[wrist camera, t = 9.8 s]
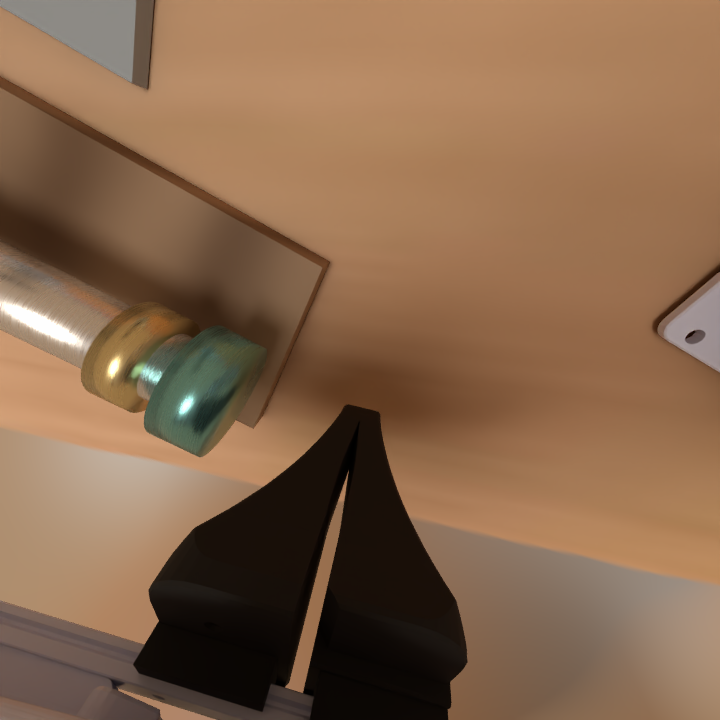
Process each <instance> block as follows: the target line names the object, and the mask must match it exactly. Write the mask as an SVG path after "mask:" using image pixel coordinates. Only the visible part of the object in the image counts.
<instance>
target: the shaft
mask: <svg viewBox="0 0 720 720" xmlns="http://www.w3.org/2000/svg"><path fill="white" fill-rule="evenodd" d="M0 330H2V331H4V332H6V333H8V334H10V335H12V336H14V337H17V338H19V339H21V340H23V341H25V342H27V343H29V344H31V345H33V346H35V347H37V348H39V349H41V350H43V351H46V352H48V353H50V354H52V355H54V356H56V357H58V358H60V359H62V360H64V361H66V362H68V363H70V364H72V365H75V366H77V367H79V368H81V380H82V384H83V386H84V388H85V389H86V390H87V391H88V392H89V393H91V394H93V395H95V396H97V397H100V398H102V399H104V400H106V401H108V402H110V403H112V404H114V405H116V406H118V407H121V408H123V409H125V410H127V411H129V412H132V413H137V412H142V411H144V410H146V411H145V416H144V427H145V429H146V431H147V432H148V433H149V434H151V435H153V436H156V437H158V438H160V439H162V440H164V441H166V442H168V443H170V444H172V445H175V446H177V447H179V448H181V449H183V450H185V451H187V452H189V453H192V454H194V455H196V456H198V457H203V456H204V455H206V454H207V453H209V452H210V451H211V450H212V449H213V448H214V447H215V446H216V445H217V444H218V442H219V441H220V440H221V439H222V438H223V436H224V435H225V434H226V433H227V431H228V430H229V429H230V427H231V426H232V424H233V423H234V422H235V420H236V419H237V417H238V416H239V414H240V412H241V411H242V409H243V408H244V406H245V404H246V403H247V401H248V399H249V397H250V396H251V394H252V392H253V390H254V388H255V386H256V384H257V382H258V380H259V378H260V376H261V373H262V371H263V368H264V366H265V362H266V359H267V349H266V348H264V347H262V346H260V345H258V344H256V343H254V342H252V341H250V340H248V339H247V338H245V337H243V336H241V335H239V334H237V333H235V332H233V331H231V330H229V329H227V328H225V327H223V326H221V325H215V326H212V327H209V328H207V329H205V330H204V331H202V332H201V333H200V328H199V326H198V324H197V323H196V322H194V321H192V320H191V319H189V318H187V317H185V316H183V315H181V314H179V313H177V312H175V311H173V310H171V309H169V308H167V307H165V306H163V305H162V304H159V303H157V302H145V303H140V304H137V305H135V306H130V305H128V304H126V303H124V302H122V301H120V300H118V299H116V298H114V297H112V296H110V295H108V294H106V293H105V292H103V291H101V290H99V289H97V288H95V287H93V286H91V285H89V284H87V283H85V282H83V281H81V280H79V279H77V278H75V277H73V276H71V275H69V274H67V273H65V272H63V271H61V270H60V269H58V268H56V267H54V266H52V265H50V264H48V263H46V262H44V261H42V260H40V259H38V258H36V257H34V256H32V255H30V254H28V253H26V252H24V251H22V250H20V249H18V248H16V247H15V246H13V245H11V244H9V243H7V242H5V241H3V240H1V239H0Z"/></svg>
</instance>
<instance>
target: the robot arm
mask: <svg viewBox="0 0 720 720" xmlns="http://www.w3.org/2000/svg"><path fill="white" fill-rule="evenodd" d="M657 330H658V334H659V335H660V336H661V337H662V338H664V339H665V340H667V341H668V342H670V343H672V344H673V345H675V346H677V347H678V348H680V349H682V350H683V351H685V352H687V353H688V354H690V355H692V356H693V357H695V358H697V359H698V360H700V361H701V362H703V363H705V364H706V365H708V366H710V367H711V368H713V369H715V370H716V371H718V372H720V272H719V273H717V274H716V275H715V276H714V277H713V278H711V279H710V280H709V281H708V282H707V283H706V284H704V285H703V286H702V287H701V288H700V289H698V290H697V291H696V292H695V293H694V294H692V295H691V296H690V297H689V298H688V299H687V300H685V301H684V302H683V303H682V304H681V305H679V306H678V307H677V308H676V309H675V310H674V311H672V312H671V313H670V314H669V315H668V316H666V317H665V318H664V319H663V320H662V321H661V322H660V324H659V326H658V329H657ZM694 330H695V333H694V334H693V335H692V336H691V337H689V338H687V339H685V338H686V336H687V335H688V334H689V333H690V332H692V331H694ZM348 471H349V473H348ZM347 473H348V480H347V487H346V494H345V501H344V508H343V514H342V521H341V528H340V533H339V538H338V543H337V547H336V552H335V556H334V561H333V565H332V569H331V574H330V578H329V582H328V586H327V591H326V595H325V599H324V604H323V608H322V613H321V617H320V621H319V626H318V630H317V635H316V639H315V643H314V647H313V652H312V656H311V661H310V665H309V669H308V674H307V678H306V682H305V687H304V691H303V693H300V692H297V691H294V690H291V689H288V688H285V686H286V685H287V684H288V683H289V681H290V677H291V673H292V669H293V665H294V660H295V657H296V652H297V649H298V645H299V641H300V637H301V633H302V629H303V625H304V621H305V617H306V613H307V610H308V606H309V601H310V598H311V594H312V590H313V585H314V582H315V578H316V574H317V570H318V566H319V562H320V559H321V555H322V551H323V547H324V543H325V539H326V535H327V532H328V529H329V525H330V522H331V519H332V516H333V514H334V510H335V508H336V505H337V502H338V499H339V496H340V494H341V491H342V488H343V485H344V482H345V479H346V476H347ZM149 597H150V602H151V604H152V606H153V608H154V610H155V613H156V615H157V617H158V619H159V622H158V623H157V625H156V627H155V629H154V630H153V632H152V634H151V635H150V637H149V638H148V640H147V642H146V643H145V645H144V644H140V643H137V642H134V641H130V640H127V639H124V638H121V637H117V636H114V635H111V634H108V633H105V632H101V631H98V630H95V629H92V628H88V627H85V626H81V625H78V624H75V623H72V622H69V621H65V620H62V619H59V618H56V617H52V616H49V615H46V614H42V613H39V612H36V611H33V610H29V609H26V608H23V607H19V606H16V605H13V604H10V603H7V602H3V601H0V720H162V718H161V717H160V710H159V709H157V708H155V707H153V706H151V705H148V704H146V703H144V702H142V701H140V700H137V699H135V698H133V697H131V696H128V695H126V694H124V693H122V692H120V691H118V688H119V689H122V690H125V691H128V692H131V693H135V694H138V695H141V696H144V697H147V698H150V699H153V700H157V701H160V702H163V703H166V704H169V705H172V706H176V707H179V708H182V709H185V710H188V711H191V712H195V713H198V714H201V715H204V716H207V717H210V718H213V719H216V720H448V709H449V708H450V707H451V690H450V681H451V680H453V679H454V678H455V677H456V676H457V675H458V674H459V673H460V672H461V671H462V670H463V669H464V667H465V665H466V663H467V649H466V641H465V636H464V631H463V626H462V622H461V617H460V614H459V610H458V606H457V602H456V600H455V598H454V596H453V595H452V593H451V591H450V590H449V588H448V587H447V585H446V584H445V582H444V581H443V579H442V577H441V576H440V574H439V572H438V571H437V569H436V567H435V566H434V564H433V562H432V560H431V559H430V557H429V555H428V553H427V552H426V550H425V548H424V546H423V544H422V542H421V540H420V538H419V536H418V534H417V532H416V530H415V529H414V526H413V524H412V522H411V521H410V518H409V516H408V514H407V512H406V509H405V507H404V505H403V503H402V500H401V498H400V495H399V493H398V490H397V487H396V485H395V482H394V479H393V476H392V473H391V469H390V466H389V463H388V459H387V455H386V451H385V447H384V442H383V437H382V431H381V423H380V413H379V412H377V411H373V410H369V409H365V408H361V407H357V406H352V405H346V406H344V408H343V410H342V411H341V413H340V414H339V416H338V417H337V419H336V420H335V421H334V422H333V424H332V425H331V426H330V427H329V429H328V430H327V431H326V432H325V433H324V434H323V435H322V437H321V438H320V439H319V440H318V441H317V442H316V443H315V444H314V445H313V446H312V447H311V448H310V449H309V450H308V451H307V452H306V453H305V454H304V455H303V456H301V457H300V458H299V459H298V460H297V461H296V462H295V463H294V464H292V465H291V466H290V467H289V468H288V469H286V470H285V471H284V472H283V473H281V474H280V475H279V476H277V477H276V478H275V479H273V480H272V481H271V482H269V483H268V484H267V485H265V486H264V487H262V488H261V489H260V490H258V491H256V492H255V493H253V494H252V495H250V496H249V497H247V498H246V499H244V500H242V501H241V502H239V503H238V504H236V505H235V506H233V507H231V508H230V509H228V510H226V511H224V512H223V513H221V514H219V515H217V516H216V517H213V518H212V519H210V520H208V521H206V522H204V523H202V524H201V525H199V526H197V527H195V528H194V529H193V530H192V531H191V532H190V534H189V535H188V536H187V537H186V538H185V539H184V540H183V542H182V543H181V544H180V545H179V546H178V548H177V549H176V550H175V551H174V552H173V554H172V555H171V557H170V558H169V559H168V561H167V562H166V564H165V565H164V567H163V568H162V570H161V571H160V573H159V574H158V576H157V577H156V579H155V580H154V582H153V583H152V585H151V587H150V588H149Z"/></svg>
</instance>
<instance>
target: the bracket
mask: <svg viewBox="0 0 720 720" xmlns="http://www.w3.org/2000/svg"><path fill="white" fill-rule="evenodd" d="M0 239H1V240H3V241H5V242H7V243H9V244H11V245H13V246H15V247H16V248H18V249H20V250H22V251H24V252H26V253H28V254H30V255H32V256H34V257H36V258H38V259H40V260H42V261H44V262H46V263H48V264H50V265H52V266H54V267H56V268H58V269H60V270H61V271H63V272H65V273H67V274H69V275H71V276H73V277H75V278H77V279H79V280H81V281H83V282H85V283H87V284H89V285H91V286H93V287H95V288H97V289H99V290H101V291H103V292H105V293H106V294H108V295H110V296H112V297H114V298H116V299H118V300H120V301H122V302H124V303H126V304H128V305H130V306H135V305H137V304H140V303H145V302H157V303H159V304H162V305H163V306H165V307H167V308H169V309H171V310H173V311H175V312H177V313H179V314H181V315H183V316H185V317H187V318H189V319H191V320H192V321H194V322H196V323H197V324H198V326H199V328H200V333H201V332H202V331H204V330H205V329H207V328H209V327H212V326H215V325H221V326H223V327H225V328H227V329H229V330H231V331H233V332H235V333H237V334H239V335H241V336H243V337H245V338H247V339H248V340H250V341H252V342H254V343H256V344H258V345H260V346H262V347H264V348H266V349H267V359H266V362H265V366H264V368H263V371H262V373H261V376H260V378H259V380H258V382H257V384H256V386H255V388H254V390H253V392H252V394H251V396H250V397H249V399H248V401H247V403H246V404H245V406H244V408H243V409H242V411H241V412H240V414H239V416H238V417H237V419H236V420H237V421H239V422H241V423H243V424H245V425H247V426H249V427H251V428H253V429H254V427H255V426H256V424H257V423H258V422H259V420H260V419H261V417H262V416H263V414H264V411H265V409H266V407H267V404H268V402H269V400H270V398H271V395H272V393H273V391H274V388H275V386H276V384H277V382H278V379H279V377H280V375H281V372H282V370H283V368H284V366H285V363H286V361H287V359H288V356H289V354H290V352H291V350H292V347H293V345H294V343H295V340H296V338H297V336H298V334H299V331H300V329H301V327H302V324H303V322H304V320H305V318H306V315H307V313H308V311H309V308H310V306H311V304H312V302H313V299H314V297H315V295H316V292H317V290H318V288H319V286H320V283H321V281H322V279H323V277H324V274H325V272H326V270H327V267H328V265H329V263H330V262H329V261H327V260H325V259H324V258H322V257H320V256H318V255H316V254H315V253H313V252H311V251H309V250H308V249H306V248H304V247H302V246H300V245H299V244H297V243H295V242H293V241H292V240H290V239H288V238H286V237H284V236H283V235H281V234H279V233H277V232H275V231H274V230H272V229H270V228H268V227H267V226H265V225H263V224H261V223H259V222H258V221H256V220H254V219H252V218H251V217H249V216H247V215H245V214H243V213H242V212H240V211H238V210H236V209H235V208H233V207H231V206H229V205H227V204H226V203H224V202H222V201H220V200H219V199H217V198H215V197H213V196H211V195H210V194H208V193H206V192H204V191H203V190H201V189H199V188H197V187H195V186H194V185H192V184H190V183H188V182H187V181H185V180H183V179H181V178H179V177H178V176H176V175H174V174H172V173H171V172H169V171H167V170H165V169H163V168H162V167H160V166H158V165H156V164H155V163H153V162H151V161H149V160H147V159H146V158H144V157H142V156H140V155H139V154H137V153H135V152H133V151H131V150H130V149H128V148H126V147H124V146H122V145H121V144H119V143H117V142H115V141H114V140H112V139H110V138H108V137H106V136H105V135H103V134H101V133H99V132H98V131H96V130H94V129H92V128H90V127H89V126H87V125H85V124H83V123H82V122H80V121H78V120H76V119H74V118H73V117H71V116H69V115H67V114H66V113H64V112H62V111H60V110H58V109H57V108H55V107H53V106H51V105H50V104H48V103H46V102H44V101H42V100H41V99H39V98H37V97H35V96H34V95H32V94H30V93H28V92H26V91H25V90H23V89H21V88H19V87H18V86H16V85H14V84H12V83H10V82H9V81H7V80H5V79H3V78H2V77H0Z"/></svg>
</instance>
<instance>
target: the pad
mask: <svg viewBox="0 0 720 720" xmlns="http://www.w3.org/2000/svg"><path fill="white" fill-rule="evenodd" d="M0 6H1V7H2V8H4V9H6V10H7V11H9V12H11V13H13V14H14V15H16V16H18V17H19V18H21V19H23V20H25V21H26V22H28V23H30V24H31V25H33V26H35V27H37V28H38V29H40V30H42V31H43V32H45V33H47V34H49V35H50V36H52V37H54V38H55V39H57V40H59V41H61V42H62V43H64V44H66V45H67V46H69V47H71V48H73V49H74V50H76V51H78V52H79V53H81V54H83V55H85V56H86V57H88V58H90V59H91V60H93V61H95V62H97V63H98V64H100V65H102V66H103V67H105V68H107V69H108V70H110V71H112V72H114V73H115V74H117V75H119V76H120V77H122V78H124V79H126V80H127V81H129V82H131V83H133V84H135V85H138V86H140V87H143V88H146V89H147V88H148V74H149V61H150V48H151V34H152V21H153V7H154V0H0Z"/></svg>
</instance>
